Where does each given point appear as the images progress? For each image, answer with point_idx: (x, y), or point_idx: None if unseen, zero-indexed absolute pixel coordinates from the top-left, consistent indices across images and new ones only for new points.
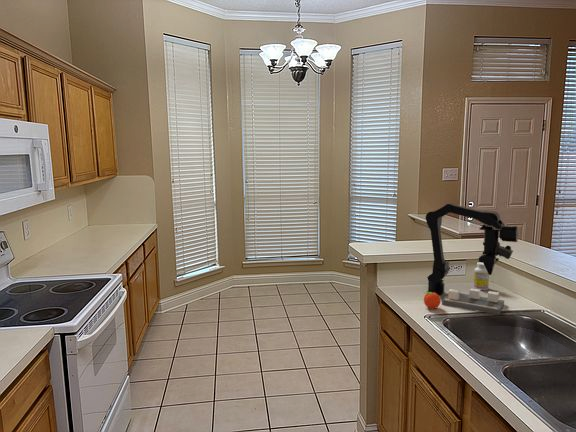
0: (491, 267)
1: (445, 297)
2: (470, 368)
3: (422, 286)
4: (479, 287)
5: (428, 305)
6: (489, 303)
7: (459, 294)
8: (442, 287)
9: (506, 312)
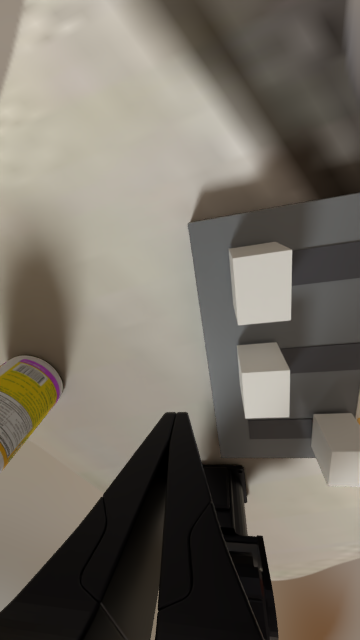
0: (220, 535)
1: None
2: None
3: None
4: (56, 386)
5: None
6: (311, 277)
7: (322, 431)
8: (229, 493)
9: (328, 160)
